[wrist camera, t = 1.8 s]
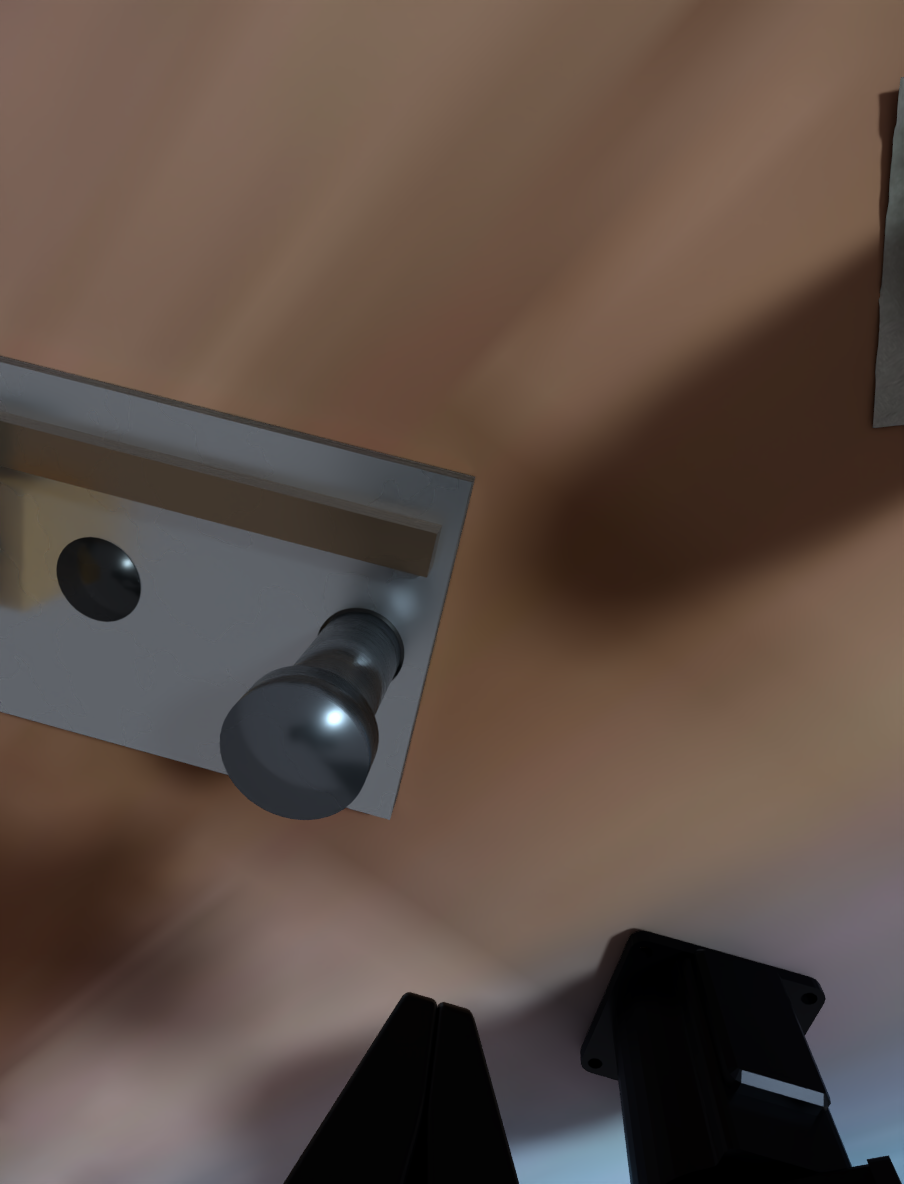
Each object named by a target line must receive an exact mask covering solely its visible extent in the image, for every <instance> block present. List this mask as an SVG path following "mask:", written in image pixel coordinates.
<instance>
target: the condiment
mask: <svg viewBox="0 0 904 1184" xmlns="http://www.w3.org/2000/svg"><path fill="white" fill-rule="evenodd" d="M879 305H880V324H879V328H880V331H879V344H878V351H877V359H876V370H875V376H876V389H875V405H874V419H873V428H879V427H887V426H896V425H904V77H901V80H900V88H899V97H898V108H897V124H896V127H895V130H894V136H893V153H892V163H891V174H890V184H889V204H888V210H887V215H886V228H885V244H884V260H883V276H882V286H881V290H880V298H879Z"/></svg>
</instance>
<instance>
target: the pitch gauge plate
mask: <svg viewBox="0 0 904 1184" xmlns="http://www.w3.org/2000/svg"><path fill="white" fill-rule="evenodd" d="M474 481H475V476H471V475H467V474H463V473H459V472H455V471H451V470H447V469H443V468H439V467H435V466H431V465H427V464H423V463H420V462H416V461H412V460H408V459H404V458H400V457H396V456H392V455H388V454H384V453H380V452H376V451H372V450H369V449H365V448H361V447H357V446H353V445H349V444H345V443H341V442H337V441H333V440H329V439H325V438H321V437H317V436H314V435H310V434H306V433H302V432H298V431H294V430H290V429H286V428H282V427H278V426H274V425H270V424H266V423H263V422H259V421H255V420H251V419H247V418H243V417H239V416H235V415H231V414H227V413H223V412H219V411H215V410H211V409H208V408H204V407H200V406H196V405H192V404H188V403H184V402H180V401H176V400H172V399H168V398H164V397H160V396H156V395H153V394H149V393H145V392H141V391H137V390H133V389H129V388H125V387H121V386H117V385H113V384H109V383H105V382H102V381H98V380H94V379H90V378H86V377H82V376H78V375H74V374H70V373H66V372H62V371H58V370H54V369H50V368H47V367H43V366H39V365H35V364H31V363H27V362H23V361H19V360H15V359H11V358H7V357H3V356H0V712H4V713H7V714H11V715H14V716H18V717H22V718H25V719H29V720H32V721H36V722H40V723H43V724H47V725H50V726H54V727H58V728H61V729H65V730H68V731H72V732H76V733H79V734H83V735H86V736H90V737H94V738H97V739H101V740H104V741H108V742H112V743H115V744H119V745H122V746H126V747H130V748H133V749H137V750H140V751H144V752H148V753H151V754H155V755H158V756H162V757H166V758H169V759H173V760H176V761H180V762H184V763H187V764H191V765H194V766H198V767H202V768H205V769H209V770H212V771H216V772H220V773H223V774H227V775H229V777H230V779H231V780H232V782H233V783H234V784H235V786H236V787H237V788H238V789H239V790H240V791H241V793H242V794H244V795H245V796H246V797H247V798H248V799H249V800H250V801H252V802H253V803H255V804H256V805H258V806H259V807H261V808H263V809H264V810H266V811H269V812H271V813H273V814H276V815H279V816H282V817H286V818H290V819H298V820H313V819H320V818H324V817H328V816H331V815H333V814H336V813H338V812H339V811H341V810H343V809H344V808H349V809H353V810H356V811H360V812H364V813H367V814H371V815H374V816H378V817H382V818H385V819H389V820H390V818H391V815H392V812H393V809H394V806H395V803H396V799H397V795H398V791H399V787H400V783H401V779H402V775H403V771H404V767H405V762H406V758H407V754H408V750H409V746H410V742H411V738H412V734H413V730H414V726H415V722H416V718H417V713H418V709H419V705H420V701H421V697H422V693H423V689H424V685H425V681H426V677H427V673H428V668H429V664H430V660H431V656H432V652H433V648H434V644H435V640H436V636H437V632H438V628H439V624H440V619H441V615H442V611H443V607H444V603H445V599H446V595H447V591H448V587H449V583H450V579H451V574H452V570H453V566H454V562H455V558H456V554H457V550H458V546H459V542H460V538H461V534H462V530H463V525H464V521H465V517H466V513H467V509H468V505H469V501H470V497H471V493H472V489H473V485H474Z"/></svg>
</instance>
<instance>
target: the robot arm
mask: <svg viewBox="0 0 904 1184" xmlns="http://www.w3.org/2000/svg"><path fill="white" fill-rule="evenodd" d="M641 947H648V948H641ZM824 1002H825V995H824V992H823V990H822V988H821V986H820V984H819V983H818V981H817V980H816V979H813V978H811V977H808V976H805V975H801V974H797V973H794V972H790V971H787V970H783V969H780V968H776V967H772V966H769V965H765V964H762V963H758V962H755V961H751V960H747V959H744V958H740V957H737V956H733V955H730V954H726V953H722V952H719V951H715V950H712V949H708V948H705V947H701V946H697V945H694V944H690V943H687V942H683V941H680V940H676V939H672V938H669V937H665V936H662V935H658V934H655V933H651V932H647V931H639V932H635V933H634V934H632V935H631V936H630V937H629V939H628V941H627V944H626V946H625V948H624V950H623V953H622V955H621V957H620V960H619V962H618V964H617V967H616V969H615V971H614V974H613V976H612V978H611V980H610V983H609V985H608V987H607V990H606V992H605V994H604V997H603V999H602V1001H601V1003H600V1006H599V1008H598V1010H597V1013H596V1015H595V1017H594V1020H593V1022H592V1024H591V1026H590V1029H589V1031H588V1033H587V1036H586V1038H585V1040H584V1043H583V1045H582V1047H581V1051H580V1055H581V1064H582V1067H583V1068H584V1069H585V1070H586V1071H588V1072H591V1073H594V1074H597V1075H601V1076H604V1077H608V1078H611V1079H614V1080H618V1082H619V1090H620V1099H621V1107H622V1116H623V1124H624V1133H625V1141H626V1149H627V1158H628V1166H629V1175H630V1183H631V1184H902V1183H901V1181H900V1179H899V1177H898V1174H897V1172H896V1170H895V1168H894V1166H893V1164H892V1162H891V1159H890V1157H889V1156H883V1157H878V1158H872V1159H867V1162H868V1164H866V1165H861V1166H855V1167H852V1165H851V1163H850V1160H849V1158H848V1155H847V1153H846V1150H845V1148H844V1145H843V1143H842V1140H841V1138H840V1135H839V1133H838V1130H837V1128H836V1125H835V1123H834V1120H833V1118H832V1115H831V1113H830V1110H829V1108H828V1107H829V1105H830V1104H831V1101H830V1097H829V1094H828V1092H827V1089H826V1087H825V1085H824V1082H823V1080H822V1077H821V1075H820V1072H819V1070H818V1067H817V1065H816V1063H815V1060H814V1058H813V1055H812V1053H811V1050H810V1048H809V1045H808V1043H807V1041H806V1038H805V1034H806V1032H807V1031H808V1029H809V1027H810V1026H811V1024H812V1023H813V1021H814V1019H815V1018H816V1016H817V1014H818V1013H819V1011H820V1009H821V1008H822V1006H823V1004H824ZM284 1184H519V1181H518V1178H517V1174H516V1170H515V1167H514V1163H513V1159H512V1156H511V1152H510V1148H509V1145H508V1141H507V1137H506V1134H505V1130H504V1126H503V1122H502V1119H501V1115H500V1111H499V1108H498V1104H497V1100H496V1097H495V1093H494V1089H493V1086H492V1082H491V1078H490V1075H489V1071H488V1067H487V1064H486V1060H485V1056H484V1052H483V1049H482V1045H481V1041H480V1038H479V1034H478V1030H477V1027H476V1023H475V1020H474V1017H473V1015H472V1013H471V1012H470V1010H468V1009H466V1008H463V1007H459V1006H456V1005H452V1004H449V1003H446V1002H442V1003H440V1004H439V1005H438V1006H437V1004H436V1002H435V1000H433V999H432V998H428V997H425V996H421V995H418V994H415V993H411V992H408V993H405V994H404V995H403V996H402V998H401V999H400V1001H399V1002H398V1004H397V1005H396V1007H395V1008H394V1010H393V1012H392V1013H391V1015H390V1016H389V1018H388V1019H387V1021H386V1023H385V1024H384V1026H383V1027H382V1029H381V1031H380V1032H379V1034H378V1035H377V1037H376V1038H375V1040H374V1042H373V1043H372V1045H371V1046H370V1048H369V1049H368V1051H367V1053H366V1054H365V1056H364V1057H363V1059H362V1060H361V1062H360V1064H359V1065H358V1067H357V1068H356V1070H355V1072H354V1073H353V1075H352V1076H351V1078H350V1079H349V1081H348V1083H347V1084H346V1086H345V1087H344V1089H343V1090H342V1092H341V1094H340V1095H339V1097H338V1098H337V1100H336V1101H335V1103H334V1105H333V1106H332V1108H331V1109H330V1111H329V1113H328V1114H327V1116H326V1117H325V1119H324V1120H323V1122H322V1124H321V1125H320V1127H319V1128H318V1130H317V1131H316V1133H315V1135H314V1136H313V1138H312V1139H311V1141H310V1143H309V1144H308V1146H307V1147H306V1149H305V1150H304V1152H303V1154H302V1155H301V1157H300V1158H299V1160H298V1161H297V1163H296V1165H295V1166H294V1168H293V1169H292V1171H291V1172H290V1174H289V1176H288V1177H287V1179H286V1180H285V1182H284Z"/></svg>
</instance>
